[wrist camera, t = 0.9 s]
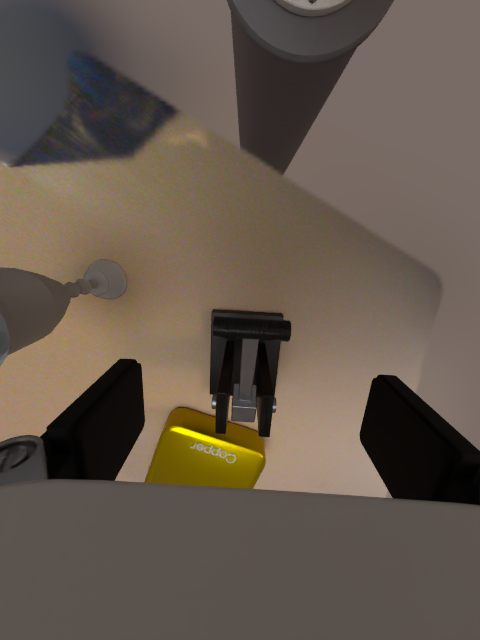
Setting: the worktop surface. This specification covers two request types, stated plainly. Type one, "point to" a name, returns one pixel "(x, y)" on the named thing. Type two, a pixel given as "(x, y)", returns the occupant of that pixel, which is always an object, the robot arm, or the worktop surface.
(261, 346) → the bracket
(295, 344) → the worktop surface
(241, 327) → the lever
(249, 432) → the element tile
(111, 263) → the chalice
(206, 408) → the worktop surface
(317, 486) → the worktop surface
